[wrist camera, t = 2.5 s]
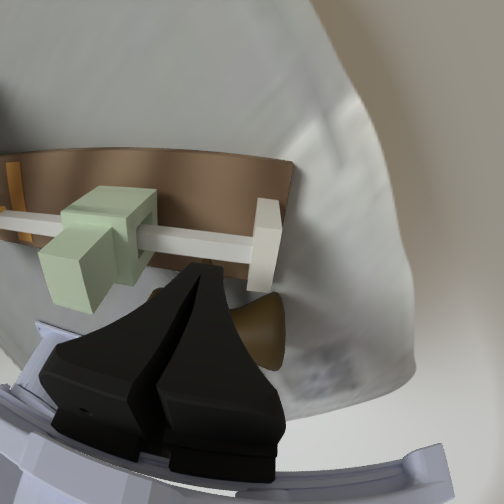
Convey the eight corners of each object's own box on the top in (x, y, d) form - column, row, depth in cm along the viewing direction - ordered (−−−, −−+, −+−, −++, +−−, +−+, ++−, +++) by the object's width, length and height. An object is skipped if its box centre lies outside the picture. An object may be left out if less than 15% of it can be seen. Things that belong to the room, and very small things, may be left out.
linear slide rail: (278, 200, 16) (283, 238, 12) (269, 253, 18) (270, 303, 14) (-21, 183, 15) (-55, 203, 11) (-14, 218, 17) (-46, 241, 13)
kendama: (190, 388, 29) (145, 233, 19) (274, 390, 29) (285, 230, 18) (183, 433, 24) (111, 286, 14) (276, 437, 24) (296, 288, 13)
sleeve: (157, 189, 15) (92, 252, 9) (158, 246, 17) (110, 326, 11) (99, 185, 15) (23, 240, 9) (105, 239, 17) (45, 307, 11)
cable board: (291, 161, 16) (293, 165, 15) (271, 274, 20) (271, 283, 19) (-14, 157, 15) (-22, 160, 14) (-1, 233, 19) (-8, 238, 18)
